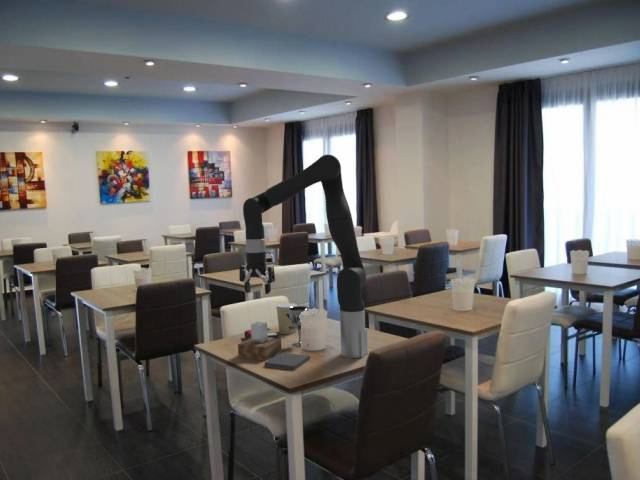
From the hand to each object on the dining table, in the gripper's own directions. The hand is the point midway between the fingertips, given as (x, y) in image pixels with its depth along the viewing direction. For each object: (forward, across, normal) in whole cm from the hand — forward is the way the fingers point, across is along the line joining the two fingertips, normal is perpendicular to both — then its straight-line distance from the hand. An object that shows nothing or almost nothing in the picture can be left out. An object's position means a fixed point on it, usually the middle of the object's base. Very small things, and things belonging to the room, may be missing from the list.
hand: (257, 293), depth 203 cm
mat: (+24, -15, +6) cm, 29 cm away
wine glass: (+24, -9, -16) cm, 30 cm away
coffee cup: (+24, +5, -32) cm, 40 cm away
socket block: (+24, 0, 0) cm, 24 cm away
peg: (+24, 0, 0) cm, 24 cm away
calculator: (+24, +10, -17) cm, 31 cm away
